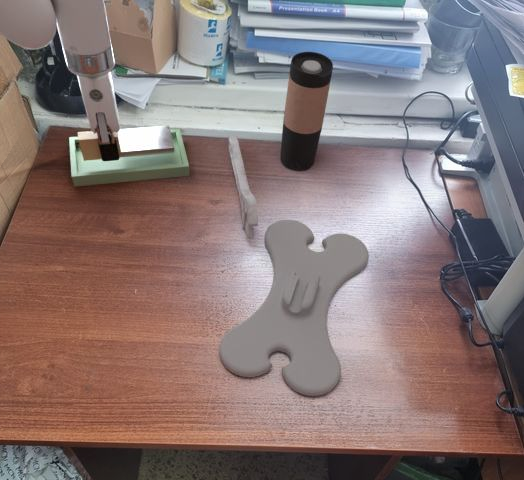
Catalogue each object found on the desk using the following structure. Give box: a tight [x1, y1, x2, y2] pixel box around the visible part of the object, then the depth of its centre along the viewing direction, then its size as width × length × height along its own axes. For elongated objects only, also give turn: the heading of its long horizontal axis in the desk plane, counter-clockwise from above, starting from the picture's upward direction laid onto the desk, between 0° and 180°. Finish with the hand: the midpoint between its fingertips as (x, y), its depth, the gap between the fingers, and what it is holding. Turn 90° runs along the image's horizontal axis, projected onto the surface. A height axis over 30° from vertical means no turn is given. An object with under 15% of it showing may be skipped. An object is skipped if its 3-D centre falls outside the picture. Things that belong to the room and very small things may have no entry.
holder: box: [218, 219, 370, 397], centre depth 83 cm, size 19×34×5 cm, turn 164°
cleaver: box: [77, 125, 175, 161], centre depth 96 cm, size 17×7×4 cm, turn 103°
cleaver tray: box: [68, 128, 191, 187], centre depth 100 cm, size 22×12×2 cm, turn 103°
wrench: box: [228, 136, 259, 239], centre depth 96 cm, size 8×2×30 cm
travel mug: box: [279, 51, 334, 172], centre depth 97 cm, size 8×8×20 cm
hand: (110, 153), depth 96 cm, fingers closed on cleaver, 2 cm apart
